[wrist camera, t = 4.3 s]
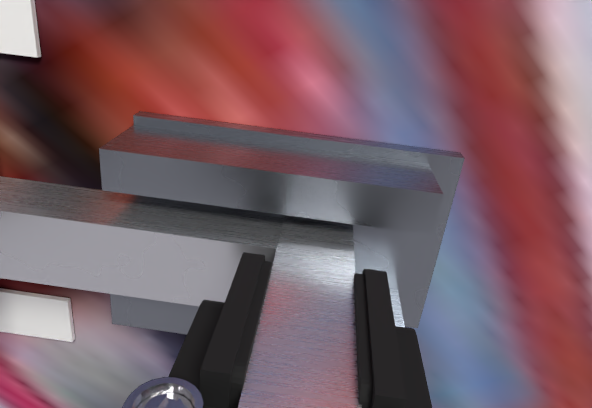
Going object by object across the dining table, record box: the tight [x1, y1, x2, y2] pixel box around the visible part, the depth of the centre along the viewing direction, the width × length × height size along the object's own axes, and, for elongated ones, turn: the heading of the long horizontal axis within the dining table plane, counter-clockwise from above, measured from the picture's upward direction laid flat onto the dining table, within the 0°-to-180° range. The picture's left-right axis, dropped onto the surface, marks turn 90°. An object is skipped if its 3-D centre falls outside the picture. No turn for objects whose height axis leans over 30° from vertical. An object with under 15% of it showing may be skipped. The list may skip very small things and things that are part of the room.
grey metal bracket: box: [99, 111, 464, 334], centre depth 15 cm, size 10×6×3 cm, turn 83°
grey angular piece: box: [0, 176, 362, 408], centre depth 11 cm, size 13×6×9 cm, turn 83°
